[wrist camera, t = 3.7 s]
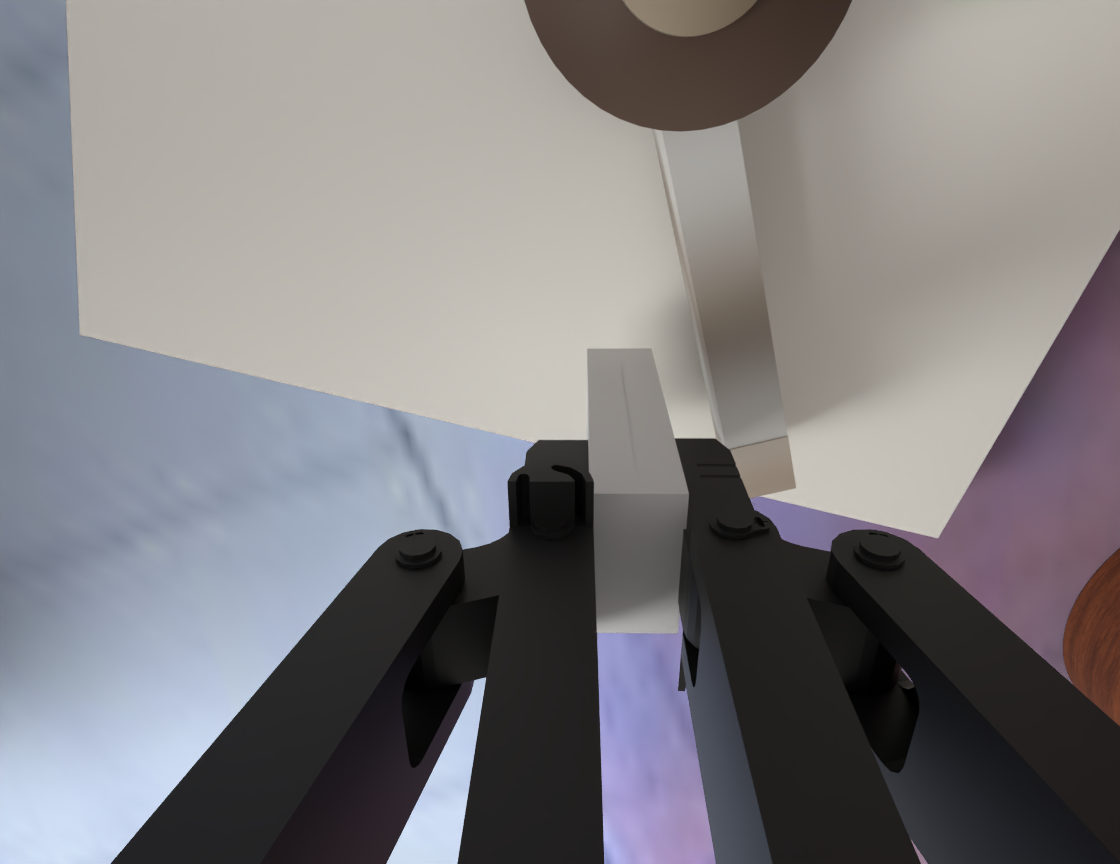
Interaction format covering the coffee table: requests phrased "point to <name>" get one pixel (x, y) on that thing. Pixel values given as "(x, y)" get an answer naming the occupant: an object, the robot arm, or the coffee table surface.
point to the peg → (704, 169)
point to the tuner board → (598, 219)
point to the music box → (1097, 639)
